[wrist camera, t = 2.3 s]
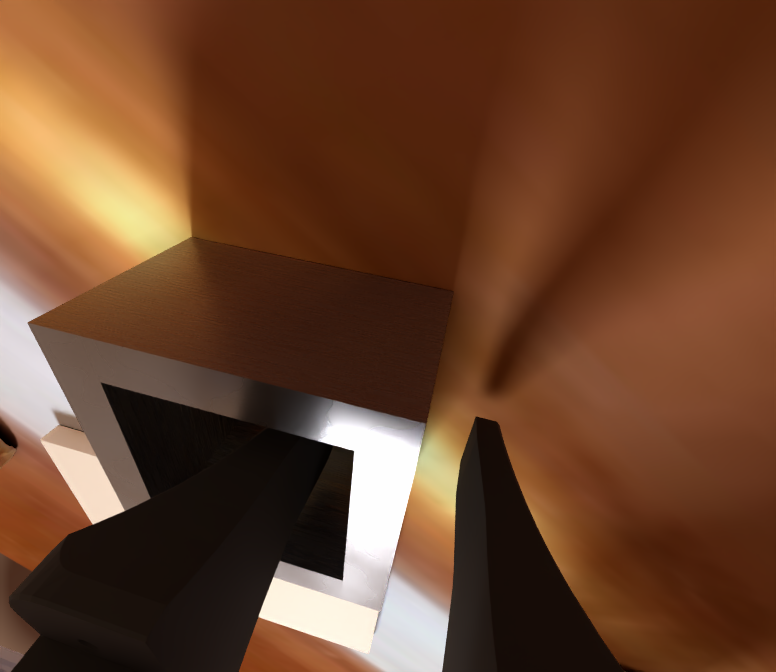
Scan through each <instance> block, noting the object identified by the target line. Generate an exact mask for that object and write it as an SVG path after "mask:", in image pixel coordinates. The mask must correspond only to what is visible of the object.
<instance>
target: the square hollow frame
mask: <svg viewBox="0 0 776 672" xmlns="http://www.w3.org/2000/svg"><path fill="white" fill-rule="evenodd" d="M452 297H453V291H448V290H443V289H438V288H434V287H429V286H424V285H419V284H414V283H410V282H405V281H400V280H395V279H390V278H385V277H381V276H376V275H371V274H366V273H361V272H356V271H352V270H347V269H342V268H337V267H332V266H327V265H323V264H318V263H313V262H308V261H303V260H298V259H294V258H289V257H284V256H279V255H274V254H269V253H265V252H260V251H255V250H250V249H245V248H240V247H236V246H231V245H226V244H221V243H216V242H211V241H207V240H202V239H197V238H192V237H190V238H189V239H187V240H185V241H183V242H181V243H179V244H177V245H175V246H173V247H171V248H169V249H168V250H166V251H164V252H162V253H160V254H158V255H156V256H154V257H152V258H150V259H148V260H146V261H145V262H143V263H141V264H139V265H137V266H135V267H133V268H131V269H129V270H127V271H125V272H123V273H122V274H120V275H118V276H116V277H114V278H112V279H110V280H108V281H106V282H104V283H102V284H100V285H99V286H97V287H95V288H93V289H91V290H89V291H87V292H85V293H83V294H81V295H79V296H78V297H76V298H74V299H72V300H70V301H68V302H66V303H64V304H62V305H60V306H58V307H56V308H55V309H53V310H51V311H49V312H47V313H45V314H43V315H41V316H39V317H37V318H35V319H33V320H32V321H30V322H28V325H29V327H30V329H31V331H32V332H33V334H34V336H35V338H36V340H37V342H38V344H39V346H40V348H41V350H42V352H43V354H44V356H45V358H46V360H47V361H48V363H49V365H50V367H51V369H52V371H53V373H54V375H55V377H56V379H57V381H58V383H59V385H60V387H61V389H62V390H63V392H64V394H65V396H66V398H67V400H68V402H69V404H70V406H71V408H72V410H73V412H74V414H75V416H76V418H77V419H78V421H79V423H80V425H81V427H82V429H83V431H84V433H85V435H86V437H87V439H88V441H89V443H90V445H91V447H92V448H93V450H94V452H95V454H96V456H97V458H98V460H99V462H100V464H101V466H102V468H103V470H104V472H105V474H106V476H107V477H108V479H109V481H110V483H111V485H112V487H113V489H114V491H115V493H116V495H117V497H118V499H119V501H120V503H121V505H122V506H123V508H124V510H125V511H126V510H128V509H130V508H132V507H134V506H136V505H138V504H140V503H142V502H144V501H146V500H148V499H150V498H152V497H154V496H156V495H158V494H160V493H162V492H164V491H167V490H169V489H171V488H172V487H174V486H176V485H178V484H180V483H182V482H184V481H185V480H187V479H189V478H191V477H192V476H194V475H196V474H198V473H199V472H201V471H203V470H204V469H206V468H208V467H210V466H211V465H213V464H214V463H216V462H218V461H219V460H221V459H222V458H224V457H225V456H227V455H229V454H230V453H232V452H233V451H235V450H236V449H237V448H239V447H240V446H242V445H243V444H245V443H246V442H247V441H249V440H250V439H251V438H253V437H254V436H255V435H257V434H258V433H259V432H261V431H262V430H263V429H265V428H266V427H268V428H272V429H276V430H279V431H283V432H287V433H290V434H294V435H298V436H302V437H305V438H309V439H313V440H316V441H320V442H324V443H328V444H331V445H334V446H333V448H332V451H331V453H330V456H329V459H328V461H327V463H326V465H325V467H324V469H323V471H322V473H321V475H320V477H319V479H318V481H317V483H316V485H315V486H314V488H313V490H312V492H311V494H310V496H309V498H308V500H307V502H306V504H305V506H304V508H303V510H302V512H301V514H300V516H299V518H298V520H297V522H296V524H295V526H294V528H293V530H292V533H291V535H290V537H289V539H288V542H287V544H286V547H285V549H284V552H283V554H282V557H281V559H280V562H279V564H278V567H277V569H276V572H275V574H274V578H277V579H280V580H283V581H287V582H290V583H293V584H296V585H299V586H302V587H305V588H308V589H311V590H314V591H318V592H321V593H324V594H327V595H330V596H333V597H336V598H339V599H342V600H346V601H349V602H352V603H355V604H358V605H361V606H364V607H367V608H370V609H373V610H377V611H380V612H381V608H382V604H383V600H384V596H385V592H386V588H387V584H388V580H389V575H390V571H391V567H392V563H393V559H394V555H395V551H396V547H397V543H398V538H399V534H400V530H401V526H402V522H403V518H404V514H405V510H406V505H407V501H408V497H409V493H410V489H411V485H412V481H413V477H414V472H415V468H416V464H417V460H418V456H419V452H420V448H421V444H422V440H423V435H424V431H425V427H426V423H427V418H428V413H429V408H430V403H431V399H432V394H433V389H434V384H435V379H436V374H437V369H438V365H439V360H440V355H441V350H442V345H443V340H444V335H445V331H446V326H447V321H448V316H449V311H450V306H451V301H452Z"/></svg>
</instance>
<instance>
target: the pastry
mask: <svg viewBox="0 0 776 672" xmlns="http://www.w3.org/2000/svg"><path fill="white" fill-rule="evenodd" d="M15 451H16V448H15V449H14V448H13V447H12V446H8V445H6V444H5V443H4V442H3V441H2V440H1V439H0V469H1V468H2V467H3V466H4V465H5V464H6V463H8V462H9V461H10V460H11V458H12V457H13V456H14V453H15Z"/></svg>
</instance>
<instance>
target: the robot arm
mask: <svg viewBox="0 0 776 672" xmlns="http://www.w3.org/2000/svg"><path fill="white" fill-rule="evenodd" d="M333 446H334V445H331V444H328V443H324V442H320V441H316V440H313V439H309V438H305V437H302V436H298V435H294V434H290V433H287V432H283V431H279V430H276V429H272V428H268V427H266V428H265V429H263V430H262V431H261V432H259V433H258V434H257V435H255V436H254V437H253V438H251V439H250V440H249V441H247V442H246V443H245V444H243V445H242V446H240V447H239V448H237V449H236V450H235V451H233V452H232V453H230V454H229V455H227V456H225V457H224V458H222V459H221V460H219V461H218V462H216V463H214V464H213V465H211V466H210V467H208V468H206V469H204V470H203V471H201V472H199V473H198V474H196V475H194V476H192V477H191V478H189V479H187V480H185V481H184V482H182V483H180V484H178V485H176V486H174V487H172V488H171V489H169V490H167V491H164V492H162V493H160V494H158V495H156V496H154V497H152V498H150V499H148V500H146V501H144V502H142V503H140V504H138V505H136V506H134V507H132V508H130V509H128V510H126V511H123V512H121V513H119V514H116V515H114V516H112V517H109V518H107V519H105V520H102V521H100V522H98V523H95V524H93V525H91V526H88V527H86V528H83V529H81V530H79V531H76V532H74V533H71V534H69V535H68V536H67V537H65V538H64V539H63V540H62V541H61V542H60V543H59V544H58V545H57V546H56V547H55V548H54V549H53V550H52V551H51V552H50V553H49V554H48V555H47V556H46V557H45V558H44V560H43V561H42V562H41V563H40V564H39V565H38V566H37V567H36V568H35V569H34V570H33V572H32V573H31V574H30V575H29V576H28V577H27V578H26V579H25V580H24V581H23V582H22V583H21V584H20V586H19V587H18V588H17V589H16V590H15V591H14V592H13V593H12V594H11V595H10V596H9V604H10V607H11V608H12V609H13V610H14V611H15V612H16V613H17V614H18V615H19V616H21V618H23V619H24V620H25V621H26V622H27V623H28V624H29V625H30V626H32V627H33V628H34V629H35V630H36V631H37V632H38V633H39V634H40V637H39V638H38V639H37V640H36V642H35V643H34V644H33V645H32V646H31V648H30V649H29V650H28V651H27V652H26V654H25V655H23V654H21V653H18V652H15V651H13V650H10V649H8V648H5V647H2V646H0V672H239V669H240V666H241V663H242V661H243V658H244V655H245V652H246V649H247V646H248V644H249V641H250V638H251V635H252V633H253V630H254V627H255V625H256V622H257V619H258V617H259V614H260V611H261V608H262V606H263V603H264V600H265V598H266V595H267V593H268V590H269V587H270V585H271V582H272V580H273V577H274V574H275V572H276V569H277V567H278V564H279V562H280V559H281V557H282V554H283V552H284V549H285V547H286V544H287V542H288V539H289V537H290V535H291V533H292V530H293V528H294V526H295V524H296V522H297V520H298V518H299V516H300V514H301V512H302V510H303V508H304V506H305V504H306V502H307V500H308V498H309V496H310V494H311V492H312V490H313V488H314V486H315V485H316V483H317V481H318V479H319V477H320V475H321V473H322V471H323V469H324V467H325V465H326V463H327V461H328V459H329V456H330V453H331V451H332V448H333ZM442 672H626V671H624V670H623V669H622V668H621V666H620V665H619V663H618V662H617V660H616V659H615V657H614V656H613V654H612V653H611V652H610V650H609V649H608V647H607V646H606V644H605V643H604V641H603V640H602V638H601V637H600V635H599V634H598V632H597V631H596V629H595V627H594V626H593V624H592V623H591V621H590V619H589V618H588V616H587V615H586V613H585V612H584V610H583V608H582V607H581V605H580V604H579V602H578V600H577V599H576V597H575V596H574V594H573V593H572V591H571V589H570V588H569V586H568V584H567V582H566V580H565V579H564V577H563V575H562V573H561V572H560V570H559V568H558V566H557V565H556V563H555V561H554V559H553V557H552V555H551V553H550V552H549V550H548V548H547V546H546V544H545V542H544V540H543V538H542V536H541V534H540V532H539V530H538V528H537V526H536V523H535V521H534V519H533V517H532V515H531V512H530V510H529V508H528V506H527V503H526V501H525V499H524V496H523V494H522V491H521V489H520V486H519V484H518V481H517V479H516V476H515V473H514V471H513V468H512V465H511V462H510V459H509V456H508V453H507V450H506V447H505V444H504V440H503V437H502V433H501V429H500V425H499V424H498V423H497V422H496V421H492V420H488V419H484V418H480V417H476V418H475V421H474V424H473V427H472V430H471V433H470V435H469V438H468V441H467V444H466V447H465V450H464V453H463V456H462V459H461V463H460V470H459V477H458V484H457V491H456V514H455V548H454V575H453V589H452V597H451V606H450V614H449V623H448V631H447V639H446V647H445V654H444V662H443V670H442Z"/></svg>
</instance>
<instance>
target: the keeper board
mask: <svg viewBox="0 0 776 672" xmlns="http://www.w3.org/2000/svg"><path fill="white" fill-rule="evenodd" d="M40 441H41V442H42V444H43V446H44V447H45V449H46V450H47V452H48V453H49V455H50V457H51V458H52V460H53V461H54V463H55V465H56V466H57V468H58V469H59V471H60V473H61V474H62V476H63V477H64V479H65V481H66V482H67V484H68V485H69V487H70V489H71V490H72V492H73V493H74V495H75V497H76V498H77V500H78V501H79V503H80V505H81V506H82V508H83V509H84V511H85V513H86V514H87V516H88V517H89V519H90V521H91V522H92V524H95V523H98V522H100V521H102V520H105V519H107V518H109V517H112V516H114V515H116V514H119V513H121V512H123V511H125V510H124V508H123V506H122V505H121V503H120V501H119V499H118V497H117V495H116V493H115V491H114V489H113V487H112V485H111V483H110V481H109V479H108V477H107V476H106V474H105V472H104V470H103V468H102V466H101V464H100V462H99V460H98V458H97V456H96V454H95V452H94V450H93V448H92V447H91V445H90V443H89V441H88V439H87V437H86V435H85V433H84V432H81V431H78V430H74V429H71V428H67V427H64V426H60V425H58V426H57V427H55V428H54V429H53V430H52V431H50V432H49V433H48V434H47V435H45V436H44V437H43V438H42V439H40ZM378 613H379V611H377V610H373V609H370V608H367V607H364V606H361V605H358V604H355V603H352V602H349V601H346V600H342V599H339V598H336V597H333V596H330V595H327V594H324V593H321V592H318V591H314V590H311V589H308V588H305V587H302V586H299V585H296V584H293V583H290V582H287V581H283V580H280V579H277V578H274V577H273V580H272V582H271V585H270V587H269V590H268V593H267V595H266V598H265V600H264V603H263V606H262V608H261V611H260V614H259V617H260V618H263V619H266V620H269V621H272V622H275V623H278V624H281V625H284V626H287V627H290V628H293V629H296V630H299V631H302V632H304V633H307V634H310V635H313V636H316V637H319V638H322V639H325V640H328V641H331V642H334V643H337V644H340V645H343V646H346V647H349V648H352V649H355V650H358V651H361V652H364V653H367V654H369V651H370V647H371V642H372V638H373V634H374V630H375V625H376V621H377V617H378Z"/></svg>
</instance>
